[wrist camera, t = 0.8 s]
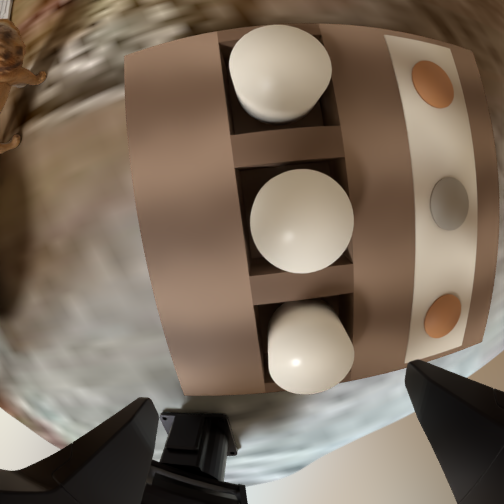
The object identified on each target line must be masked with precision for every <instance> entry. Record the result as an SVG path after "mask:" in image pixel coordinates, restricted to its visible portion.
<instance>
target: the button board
mask: <svg viewBox="0 0 504 504" xmlns="http://www.w3.org/2000/svg"><path fill="white" fill-rule="evenodd" d="M275 25H287V26H292V27H295V28H299V29H301V30H303V31H305V32H307V33H309V34H311V35H312V36H313V37H315V38H316V39H317V40H318V41H319V42H320V43H321V44H322V45H323V46H324V48H325V49H326V51H327V53H328V55H329V58H330V61H331V66H332V74H331V79H330V82H329V84H328V86H327V88H326V90H325V91H324V92H323V94H322V95H321V97H320V98H319V100H318V101H317V102H316V104H315V105H314V107H313V108H312V110H311V111H310V112H309V113H308V114H307V115H306V116H305V117H304V118H302V119H301V120H299V121H297V122H294V123H292V124H288V125H270V124H265V123H262V122H260V121H258V120H256V119H254V118H252V117H251V116H250V115H249V114H247V112H246V111H245V110H244V109H243V108H242V106H241V105H240V103H239V101H238V98H237V95H236V91H235V88H234V84H233V81H232V78H231V74H230V70H229V60H230V55H231V52H232V50H233V48H234V46H235V45H236V43H237V42H238V41H239V40H240V39H241V38H242V37H243V36H244V35H245V34H247V33H249V32H250V31H252V30H254V29H257V28H260V27H263V26H268V25H262V26H252V27H243V28H235V29H229V30H222V31H216V32H211V33H205V34H200V35H196V36H191V37H187V38H182V39H178V40H174V41H171V42H167V43H163V44H160V45H156V46H153V47H150V48H146V49H143V50H140V51H137V52H134V53H131V54H129V55H126V56H124V73H125V105H126V122H127V135H128V146H129V156H130V165H131V174H132V181H133V189H134V196H135V202H136V209H137V215H138V221H139V226H140V232H141V237H142V243H143V248H144V253H145V257H146V262H147V267H148V271H149V276H150V280H151V284H152V289H153V293H154V297H155V301H156V305H157V309H158V312H159V316H160V320H161V323H162V327H163V330H164V334H165V337H166V341H167V344H168V347H169V351H170V354H171V357H172V360H173V363H174V367H175V370H176V373H177V376H178V379H179V382H180V384H181V387H182V390H183V393H184V396H216V395H241V394H257V393H269V392H279V391H286V390H284V389H283V388H281V387H280V386H278V385H277V384H276V383H275V381H274V380H273V379H272V377H271V375H270V372H269V364H268V331H267V330H268V324H269V321H270V318H271V316H272V315H273V313H274V312H275V311H276V310H277V309H278V308H279V307H280V306H281V305H282V304H284V303H286V302H287V301H295V300H303V299H311V298H318V299H321V300H323V301H325V302H327V303H328V304H329V305H330V306H331V307H332V308H333V309H334V310H335V312H336V314H337V316H338V318H339V319H340V321H341V323H342V325H343V327H344V329H345V331H346V333H347V335H348V337H349V338H350V340H351V342H352V345H353V347H354V361H353V365H352V367H351V369H350V371H349V372H348V374H347V375H346V376H345V378H344V379H343V380H342V381H340V382H339V383H342V382H348V381H353V380H358V379H362V378H367V377H372V376H376V375H380V374H384V373H388V372H392V371H396V370H400V369H404V368H407V364H408V363H409V362H410V361H413V360H416V359H420V360H423V361H425V362H428V361H431V360H434V359H437V358H440V357H443V356H446V355H449V354H452V353H454V352H457V351H460V350H463V349H465V348H468V347H470V346H473V345H475V344H478V343H480V342H482V339H483V335H484V331H485V327H486V323H487V319H488V314H489V309H490V304H491V298H492V292H493V286H494V279H495V271H496V263H497V252H498V237H499V183H498V169H497V158H496V150H495V142H494V135H493V129H492V123H491V118H490V113H489V108H488V104H487V99H486V95H485V91H484V87H483V84H482V80H481V77H480V73H479V70H478V67H477V64H476V60H475V58H474V55H473V52H472V51H471V50H468V49H465V48H462V47H459V46H456V45H453V44H450V43H446V42H443V41H439V40H435V39H431V38H427V37H423V36H419V35H414V34H410V33H404V32H399V31H393V30H387V29H381V28H373V27H365V26H355V25H341V24H314V23H303V24H275ZM296 169H309V170H314V171H318V172H321V173H323V174H325V175H327V176H329V177H331V178H332V179H333V180H335V181H336V182H337V183H338V184H339V185H340V186H341V187H342V188H343V190H344V191H345V192H346V194H347V196H348V198H349V200H350V202H351V205H352V209H353V215H354V226H353V232H352V236H351V239H350V242H349V244H348V246H347V248H346V249H345V251H344V252H343V253H342V255H341V256H340V257H339V258H338V259H337V260H336V261H335V262H333V263H332V264H331V265H329V266H327V267H326V268H323V269H321V270H318V271H315V272H311V273H292V272H288V271H285V270H282V269H280V268H278V267H276V266H274V265H273V264H271V263H270V262H269V261H268V260H266V259H265V258H264V257H263V255H262V254H261V253H260V251H259V250H258V249H257V247H256V245H255V243H254V240H253V237H252V234H251V228H250V215H251V210H252V206H253V203H254V201H255V198H256V196H257V194H258V192H259V191H260V189H261V188H262V187H263V186H264V184H265V183H267V182H268V181H269V180H270V179H272V178H274V177H275V176H277V175H279V174H282V173H284V172H287V171H290V170H296Z"/></svg>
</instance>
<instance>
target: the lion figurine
mask: <svg viewBox="0 0 504 504" xmlns="http://www.w3.org/2000/svg"><path fill="white" fill-rule="evenodd" d="M25 47H26V46H25V44H24V42H23V41H22V40H21V35H20V31H19V29H18V28H17V27H16V26H15V25H14V23H13V22H11V21H10V20H9V19H0V113H1V111H2V109H3V107H4V105H5V103H6V101H7V98H8V95H9V92H10V89H11V86H16V87H17V88H21V87H25V86H26V85H27V84H30V85H38V84H41V83H42V82H43V81H44V80H45V79H46V72H44V71H41V72H39V74H38V75H34V74H33V73H32V72H31V71H29V70H28V69H26V68H23V67H22V64H23V57H24V55H25V53H26V51H25ZM20 141H21V137H20V135H18V134H15V135H13V137H12V139H11V141H10V142H8V143H4V144H3V143H0V154H1V153H4V152H5V151H7V150H10V149H13V148H16V147H17V146H18V145H19V143H20Z"/></svg>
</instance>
